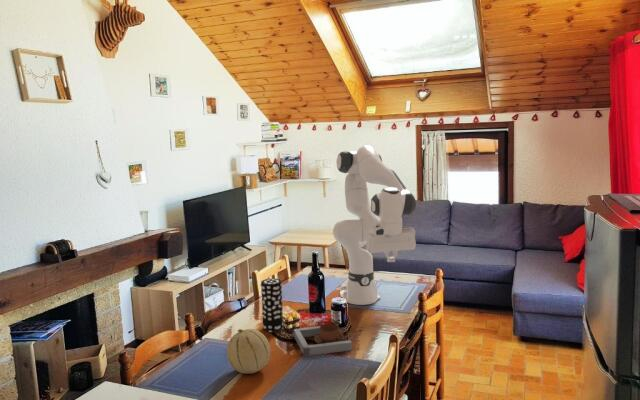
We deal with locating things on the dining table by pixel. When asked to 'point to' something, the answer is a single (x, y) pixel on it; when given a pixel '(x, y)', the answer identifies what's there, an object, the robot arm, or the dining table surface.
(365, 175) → the robot arm
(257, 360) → the cantaloupe
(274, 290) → the white-spotted black cylinder
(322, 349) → the grey u-shaped bar
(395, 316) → the dining table surface
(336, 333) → the cup and saucer
